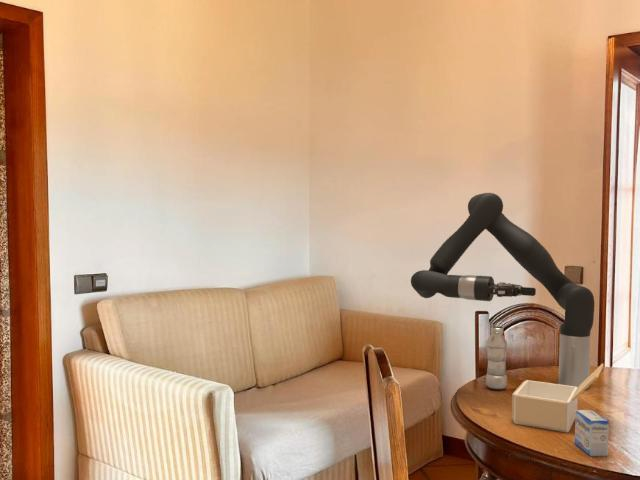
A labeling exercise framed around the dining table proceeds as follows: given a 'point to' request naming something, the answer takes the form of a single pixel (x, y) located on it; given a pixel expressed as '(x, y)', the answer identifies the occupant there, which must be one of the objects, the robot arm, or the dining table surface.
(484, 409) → the dining table surface
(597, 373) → the flap
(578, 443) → the medicine box
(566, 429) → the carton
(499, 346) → the plastic bottle
